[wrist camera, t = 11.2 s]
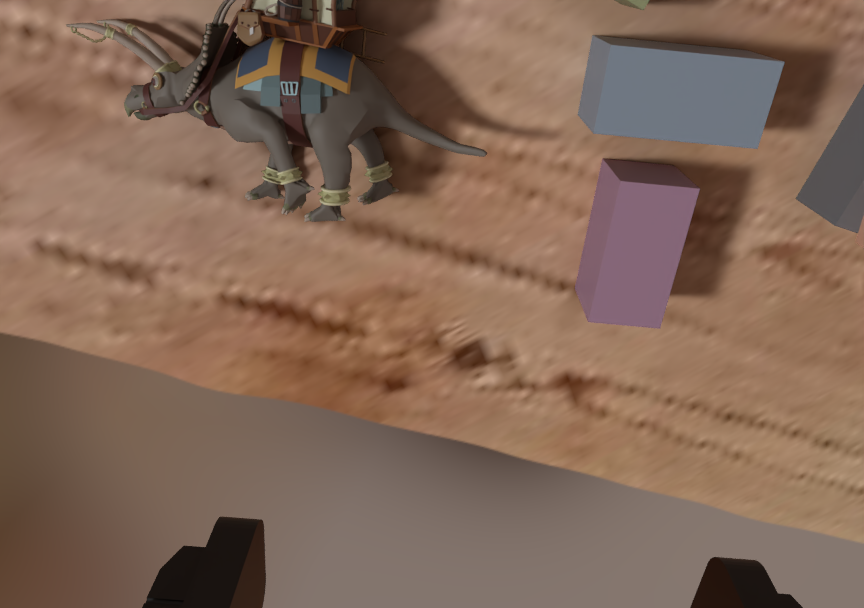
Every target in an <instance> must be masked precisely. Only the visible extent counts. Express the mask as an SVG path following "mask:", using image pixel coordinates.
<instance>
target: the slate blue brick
mask: <svg viewBox="0 0 864 608" xmlns="http://www.w3.org/2000/svg"><path fill="white" fill-rule="evenodd" d="M784 63H785V62H784V61H781V60H777V59H774V58H771V57H768V56H764V55H761V54H758V53H755V52H751V51H748V50H739V49H729V48H719V47H708V46H698V45H688V44H678V43H667V42H657V41H647V40H637V39H626V38H616V37H606V36H596V35H593V36H592V41H591V46H590V52H589V57H588V63H587V68H586V73H585V79H584V84H583V90H582V95H581V100H580V106H579V111H578V116H579V117H580V118H581V119H582V121H583V122H584V123H585V124H586V125H587V126H588V128H589V129H590V130H591V131H592V132H593V133H594V134H605V135H615V136H626V137H637V138H647V139H658V140H669V141H679V142H690V143H701V144H711V145H722V146H733V147H743V148H754V149H758V145H759V142H760V139H761V136H762V133H763V130H764V126H765V123H766V120H767V117H768V114H769V110H770V107H771V104H772V101H773V98H774V95H775V91H776V88H777V85H778V82H779V79H780V76H781V72H782V69H783V66H784Z"/></svg>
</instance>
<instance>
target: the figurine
mask: <svg viewBox="0 0 864 608" xmlns="http://www.w3.org/2000/svg"><path fill="white" fill-rule="evenodd" d="M234 2H235V0H225V1H224V2H223V3H222V4H221V6H220V7H219V9H218V11H217V13H216V15H215V17H214V20H213V22H212V24H211V23H208V24H206V32H205V35H204V40H203V45H202V50H201V53H200V55H199V56H198V57H197V59H196V60H194V61H193V62H192V63H191V64H190V65H188V66H187V67H186V68H184V67H180V65H179V64H178V62H177V61H176V60H173V59H172V58H171V57H170V56H169V55H168V53H167V52H166V51H165V50H164V49H163V48H162V47H161V46H160V45H158V44H157V43H156V42H155V41H154V40H152V39H151V38H150V37H149V36H147V35H146V34H145V33H143V32H142V31H141V30H139V29H138V28H137V27H136V26H134V25H133V24H131V23H129V24H128V23H126V22H123V21H120V20H99V21H97V22H98V23H103V24H104V26H101V25H97V24H93V23H77V24H67V25H66V26H67V27H71V31H72V32H73V33H76V34H77V35H80V36H82V37H83V38H86V39H87V38H88V39H87V40H90V41H91V42H96V43H98V42H102V41H103V40H105V39H106V37H108V38H111V39H112V40H116V41H117V42H119V43H120V44H122V45H123V46H125V47H127V48H128V49H130V50H131V51H132V52H134V53H135V54H136V55H138V56H139V57H140V58H141V59H143V60H144V61H145V62H146V63H147V64H148V65H150V66H151V67H152V68H153V69H154V70H155V71H156V72H155V73H154V75H153V78H152V80H151V81H152V82H150V83H147V84H145V85H133V86H131V92H130V93H129V94H128V95H127V98H126V99H125V103H124V106H125V110H126V112H127V114H128V117H129V116H131V114H132V113H133V112H134V111H135V110H140V112H135V113H134V114H135V116H136V117H137V118H138V119H140V120H149V119H151V118H154V117H162V116H165V115H168V114H170V113H180V112H184V111H187V112H189V113H190V114H191V115H192V116H194V117H196V118H199V119H201V120H203V121H204V122H205V123H206V124H207V125H208V126H211V127H215V128H222V129H224V130H226V131H227V132H228V133H229V135H230V136H231V137H232V138H234V139H235V140H236V141H239V142H246V143H249V142H263V141H264V142H265V144H266V146H267V148H268V149H269V151H270V153H271V154H270V158H269V162H268V166H266V170H264V171H262V172H263V173H264V175H265V176H263V177H262V178H263V179H264V182H263V183H262V184H261V185H259V186H258V187H256V188H254V189H253V190H251V191H249V192H247V193H246V194H245V195H246V196H245V198H248V199H247V200H257V199H260V198H263V197H266V196H269V197H272V198H275V199H278V198H281V199H284V196H283V195H282V194H280V193H281V191H280V190H279V189H278V184H281V185H284V187H285V192H286V193H285V202H284V206H283V208H282V214H284V213H285V214H286V215H287V214H288V213H289V212H290V210H291V212H292V213H293V212H294V210H295V209H297V208H298V206H299V207H300V208H302V206H303V204H304V203H305V201H306V194H307V193H309V192H310V191H311V190H315V189H314V187H312V186H309V184H308V183H307V182H306V181H305V180H304V179H303V177H301V174H302V171H299V167H296V165H295V162H294V160H293V157H292V154H291V153H292V148H293V144H294V145H297V146H305V147H313V148H314V151H315V153H316V155H317V158H318V160H319V162H320V164H321V168H322V171H323V175H324V182H325V184H324V185H322V186H321V190H322V192H320V193H318V194H319V195H320V196H322V198H320V202H321V203H322V204H321V206H320V207H318V208H317V209H315V210H314V211H311V212H310V213H307V214H306V215H305V216H304V217H305V218H306V219H305V220H304V221H305V222H306V221H313V222H316V221H338V220H339V221H345V218H344V217H343V216H341V208H340V205H345V204H348V203H349V202H350V200H349V198H348V197H349V196H350V195H349V194H348V193H347V192H348V191H350V190H351V187H350V186H349V185H348V184H349V182H350V173H351V168H352V159H351V152H350V150H349V148H348V145H349V144H352V145H354V146H355V147H356V148H357V149H358V150H359V151H360V152H361V153H362V155H363V156H364V158H365V160H366V162H367V165H368V166H367V167H366V170H368V172H367V173H366V174H365V176H368V177H370V179H369V182H372V183H373V185H372V187H371V188H370V189H369V190H368V192H366V193H363V195H361V196H359V197H358V198H357V199H358V200H359V201H358V202H363V205H366V204H371V203H372V202H376V201H378V200H380V199H382V198H384V197H386V196H388V195H390V194H391V193H392V192H399V190H398V189H397V188H395V187H393V186H392V184H391V183H389V182H388V180H387V178H389V177H391V176H392V173H391V171H392V170H393V168H391V167H390V166H389V165H388V163H389V162H388V161H384V153H383V149H382V146H381V143H380V141H379V139H378V137H377V136H376V134H375V133H374V131H373V128H375V127H387V128H391V129H395V130H398V131H400V132H403V133H405V134H407V135H409V136H411V137H414V138H416V139H419V140H421V141H424V142H427V143H429V144H432V145H435V146H438V147H440V148H443V149H446V150H449V151H452V152H455V153H459V154H466V155H474V156H483V157H484V156H486V155H487V152H486V151H484V150H482V149H479V148H476V147H472V146H468V145H463V144H460V143H457V142H455V141H453V140H451V139H449V138H447V137H445V136H443V135H442V134H440V133H438V132H436V131H435V130H433V129H431V128H429V127H427V126H426V125H424V124H422V123H421V122H419V121H418V120H416V119H414V118H413V117H412V116H411V115H410V114H408V113H407V112H406V111H405V110H404V109H403V108H402V107H401V106H400V105H399V103H398V102H397V101H396V99H395V98H394V97H393V96H392V94H391V93H390V92H389V91H388V90H387V88H386V87H385V86H384V85H383V84H382V82H381V81H380V80H379V79H378V78H377V76H376V75H375V74H374V73H373V72H372V71H371V70H370V69H369V68H368V67H367V66H366V65H365V64H364V63H363V62H361V61H360V60H358V59H357V58H356V57H360V58H364V59H368V60H372V61H376V62H380V63H384V61H382V60H378V59H374V58H370V57H366V56H364V55H365V44H366V33H367V31H369V32H373V33H377V34H381V35H385V36H387V33H384V32H380V31H376V30H372V29H368V28H364V27H363V26H360V25H357V24H356V11H355V8H356V2H357V0H246V3H245V4H243V6H242V9H240V10H239V11H238V12H237V13H236V15H235V17H234V19H233V21H232V23H231V25H230V26H228V24H227V23H223V22H224V19H225V16H226V14H227V12H228V10H229V8H230V6H231V5H232V4H233V3H234ZM224 7H225V8H224ZM106 24H107V27H106ZM109 24H111V25H114V26H117V27H120V28H122V29H123V30H125V31H126V32H127V33H128V35H129V34H130V35H131V36H135V37H136V38H137V39H138V40H139V41H141V42H142V43H143V44H144V45H145V46H146V47H147V48H148V49H149V50H148V49H147V48H145V47H144V46H142V45H141V44H139V43H137V42H136V41H134V40H132V39H131V38H129V37H127V36H125V35H123V34H122V33H120V32H118V31H116V29H113V28H111V27H109ZM237 24H238V28H237V34H238V37H239V38H240V39H239V42H238V39H237V38H236V36H237V34H236V33H235V32H234V31H233V30H234V28H235V27H236V25H237ZM72 27H74V28H75V31H73V29H72ZM77 28H85V29H89V30H93V31H96V32H98V33H100V34H103V35H104V37H103V38H102V39H99V40H95V41H94V40H93V39H90V38H89V37H86V36H85V35H83V34H80V33H79V32H77ZM358 29H361V30H364V34H363V45H362V55H359V54H355V53H351V52H348V51H346V50H344V49H343V40H344V39H345V38H346V36H347V35H348V34H349V33H350V32H351V31H352V30H358ZM264 35H265V36H270V37H272V38H270V39H268V40H266V41H264V42H262V41H263V38H264ZM92 40H93V41H92ZM237 42H238V44H237ZM260 42H262V43H260ZM244 43H245V44H246V45H248V46H253V45H255V46H253V47H250V48H248V49H247V50H246V51H245V53H244V54H243V55H242V56H240V53H241V50H242V47H243V44H244ZM258 43H260V44H258ZM256 44H258V45H256ZM339 44H340V47H338V45H339ZM239 56H240V57H239ZM355 56H356V57H355ZM232 58H233V60H232V62H231V63H230V60H231V59H232Z"/></svg>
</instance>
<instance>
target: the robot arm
mask: <svg viewBox="0 0 864 608" xmlns="http://www.w3.org/2000/svg"><path fill="white" fill-rule="evenodd" d="M265 583H266V573H265V543H264V524H263V521H262V520H257V519H245V518H232V517H219V518H218V520H217V522H216V524H215V526H214V528H213V531H212V533H211V535H210V538H209V540H208V543H207V545H206V547H193V546H183V547H182V548H181V549H180V550H179V551H178V552H177V553H176V554H175V555H174V556H173V557H172V558H171V559H170V560H169V561H168V562H167V563H166V564H165V565H164V566H163V567H162V568H161V569H160V571H159V573H158V575H157V577H156V579H155V581H154V583H153V586H152V588H151V590H150V592H149V594H148V596H147V601H146V603H144V605H143V607H142V608H262V607H263V601H264V594H265V585H266V584H265ZM691 608H803V607H802V606H801V605H800V604H799V603H798V602H797V601H796V600H795V599H794V598H793V597H792V596H791V595H790V594H778V593H777V591H776V589H775V587H774V585H773V583H772V581H771V579H770V578H769V576H768V574H767V572H766V570H765V568H764V567H763V566H762V565H761V564H760V563H759V562H758V561H755V560H746V559H732V558H720V557H714V558H712V559H710V561H709V562H708V564H707V567H706V569H705V572H704V574H703V577H702V579H701V582H700V585H699V587H698V590H697V592H696V595H695V597H694V600H693V602H692V605H691Z"/></svg>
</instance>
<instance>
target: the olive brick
mask: <svg viewBox="0 0 864 608" xmlns="http://www.w3.org/2000/svg"><path fill="white" fill-rule="evenodd" d="M615 1H617V2H618V3H620V4H622V5H626V6H630V7H633V8H637V9H641V10H644V8H645V7H646V5H647V3H648V2H649V0H615Z"/></svg>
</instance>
